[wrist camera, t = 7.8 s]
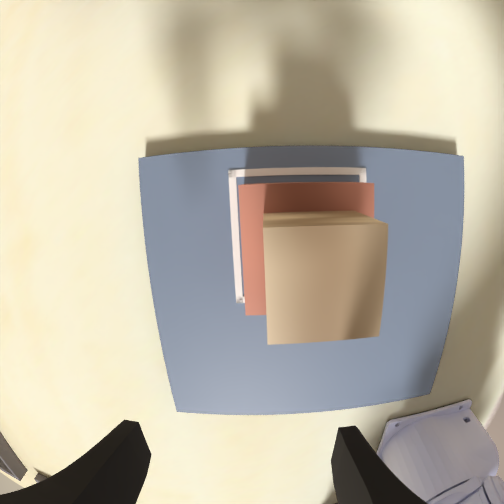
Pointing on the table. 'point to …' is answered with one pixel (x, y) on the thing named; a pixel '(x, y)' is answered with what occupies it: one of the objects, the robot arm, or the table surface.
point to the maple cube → (323, 275)
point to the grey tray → (10, 461)
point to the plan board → (255, 326)
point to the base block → (288, 200)
